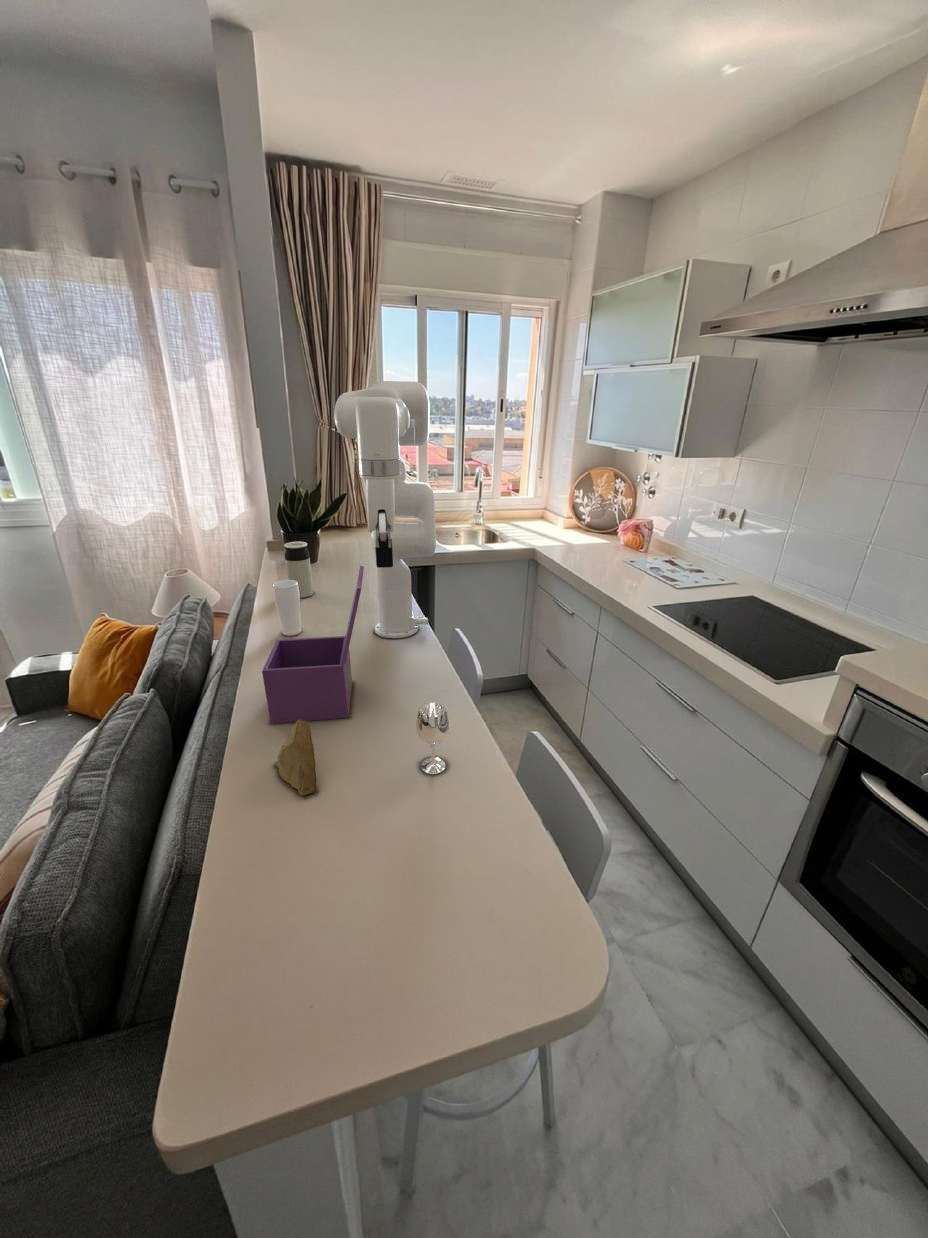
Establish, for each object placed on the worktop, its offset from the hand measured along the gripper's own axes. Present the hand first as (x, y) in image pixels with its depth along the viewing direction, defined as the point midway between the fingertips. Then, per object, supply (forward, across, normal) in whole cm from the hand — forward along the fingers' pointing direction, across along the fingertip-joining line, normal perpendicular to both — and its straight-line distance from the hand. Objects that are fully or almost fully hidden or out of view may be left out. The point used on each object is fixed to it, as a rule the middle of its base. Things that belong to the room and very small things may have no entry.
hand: (384, 561), depth 99 cm
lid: (+11, 0, -7) cm, 13 cm away
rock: (+32, +25, -17) cm, 44 cm away
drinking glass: (+32, -39, -28) cm, 58 cm away
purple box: (+32, 0, -17) cm, 36 cm away
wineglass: (+32, +25, +7) cm, 41 cm away
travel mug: (+32, -72, -30) cm, 84 cm away
